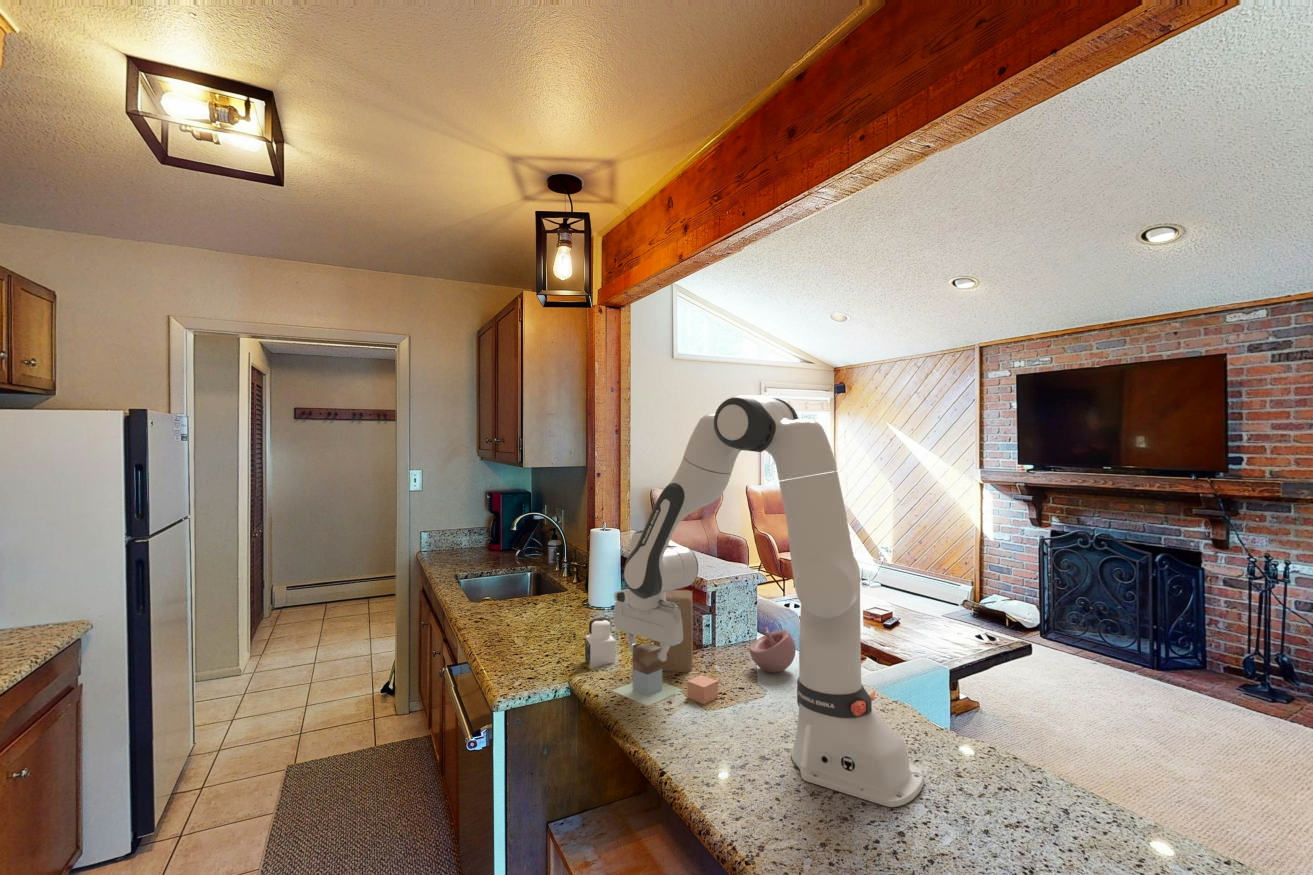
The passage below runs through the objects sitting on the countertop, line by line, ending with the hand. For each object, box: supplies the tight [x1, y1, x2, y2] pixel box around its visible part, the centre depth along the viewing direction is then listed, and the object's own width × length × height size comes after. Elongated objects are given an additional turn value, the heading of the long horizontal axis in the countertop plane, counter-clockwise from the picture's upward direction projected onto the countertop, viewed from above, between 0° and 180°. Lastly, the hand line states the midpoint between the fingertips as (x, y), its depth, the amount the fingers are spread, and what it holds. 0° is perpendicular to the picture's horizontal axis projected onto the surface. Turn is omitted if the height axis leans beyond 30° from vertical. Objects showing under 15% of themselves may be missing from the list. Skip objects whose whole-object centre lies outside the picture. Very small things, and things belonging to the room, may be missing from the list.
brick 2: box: [632, 668, 663, 697], centre depth 132 cm, size 5×5×5 cm
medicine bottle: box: [584, 617, 616, 670], centre depth 153 cm, size 7×7×12 cm
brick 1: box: [632, 642, 662, 675], centre depth 132 cm, size 5×5×5 cm
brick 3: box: [686, 675, 719, 705], centre depth 128 cm, size 5×5×5 cm
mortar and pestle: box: [748, 626, 796, 673], centre depth 148 cm, size 12×12×12 cm
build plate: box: [611, 681, 683, 707], centre depth 132 cm, size 12×12×1 cm
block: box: [653, 589, 694, 673], centre depth 149 cm, size 10×10×20 cm
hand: (647, 655), depth 132 cm, fingers open, 8 cm apart
